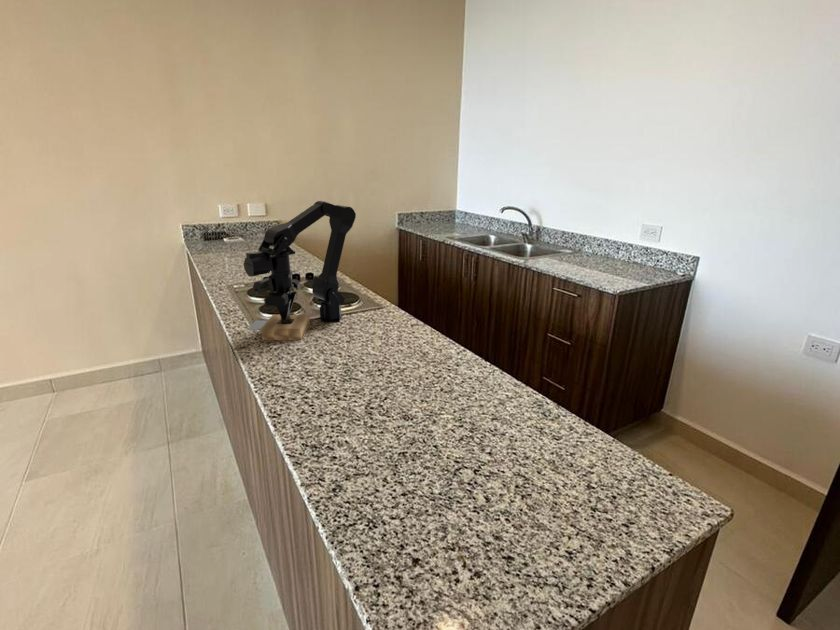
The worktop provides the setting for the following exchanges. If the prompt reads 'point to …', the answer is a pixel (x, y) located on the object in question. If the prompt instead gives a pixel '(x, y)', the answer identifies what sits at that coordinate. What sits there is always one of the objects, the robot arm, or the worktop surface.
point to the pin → (288, 319)
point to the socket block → (285, 328)
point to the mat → (257, 325)
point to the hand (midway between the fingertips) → (285, 317)
